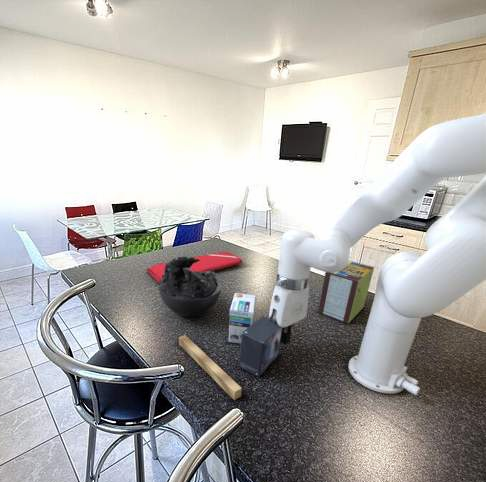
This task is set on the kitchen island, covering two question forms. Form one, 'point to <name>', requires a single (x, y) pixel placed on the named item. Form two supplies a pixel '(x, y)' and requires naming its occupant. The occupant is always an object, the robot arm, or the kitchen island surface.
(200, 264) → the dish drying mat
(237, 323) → the light bulb box
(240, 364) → the small box
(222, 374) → the maple rail
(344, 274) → the protein box
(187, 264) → the coal bowl
